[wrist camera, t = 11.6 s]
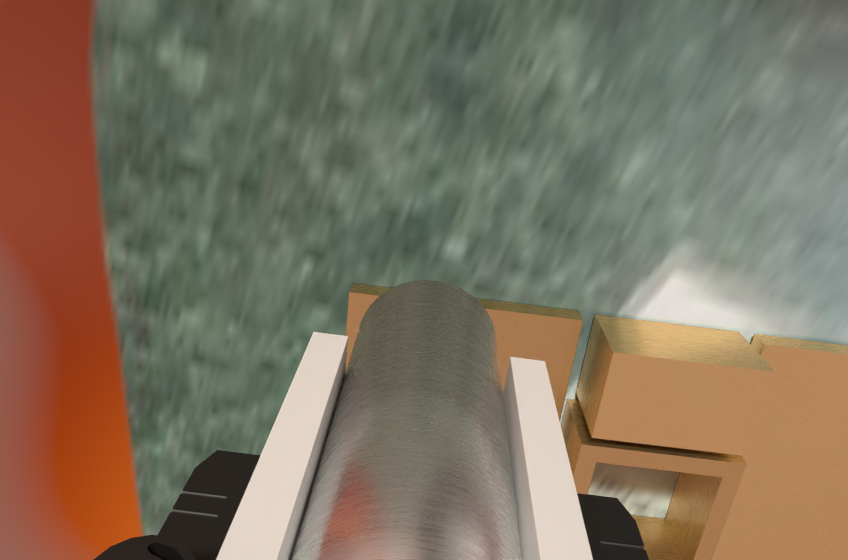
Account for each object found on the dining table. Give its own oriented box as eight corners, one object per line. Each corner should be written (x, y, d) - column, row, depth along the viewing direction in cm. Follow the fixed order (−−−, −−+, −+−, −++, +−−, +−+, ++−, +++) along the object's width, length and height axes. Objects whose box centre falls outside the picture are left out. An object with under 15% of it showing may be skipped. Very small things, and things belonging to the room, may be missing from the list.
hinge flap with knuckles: (594, 314, 29) (613, 352, 26) (977, 361, 29) (1043, 404, 26) (530, 587, 35) (538, 645, 32) (848, 623, 35) (888, 685, 32)
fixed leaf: (352, 283, 29) (340, 317, 26) (744, 330, 29) (781, 370, 26) (329, 561, 35) (316, 617, 32) (654, 598, 35) (675, 658, 32)
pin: (363, 271, 16) (30, 1249, 4) (507, 290, 16) (686, 1326, 4) (352, 394, 18) (85, 1411, 5) (485, 411, 18) (557, 1468, 5)
